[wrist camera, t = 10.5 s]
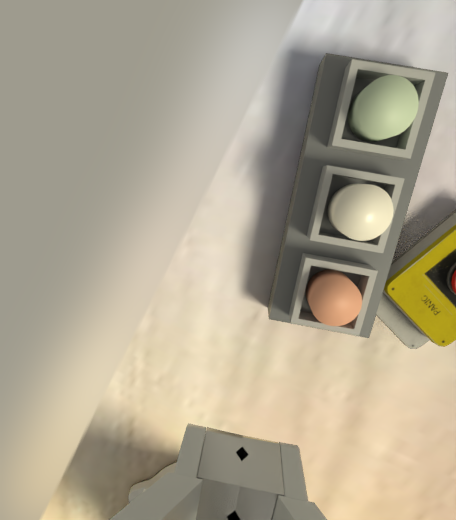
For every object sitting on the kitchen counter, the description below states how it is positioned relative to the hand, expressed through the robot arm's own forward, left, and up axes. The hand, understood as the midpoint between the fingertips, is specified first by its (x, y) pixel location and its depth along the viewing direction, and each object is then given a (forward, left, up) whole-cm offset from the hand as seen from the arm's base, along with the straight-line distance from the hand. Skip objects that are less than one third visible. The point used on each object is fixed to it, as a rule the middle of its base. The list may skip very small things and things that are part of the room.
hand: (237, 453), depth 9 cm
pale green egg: (+14, -8, -24) cm, 29 cm away
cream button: (+6, -8, -23) cm, 25 cm away
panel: (+6, -8, -27) cm, 29 cm away
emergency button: (+1, -20, -28) cm, 34 cm away
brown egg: (-2, -8, -24) cm, 25 cm away
